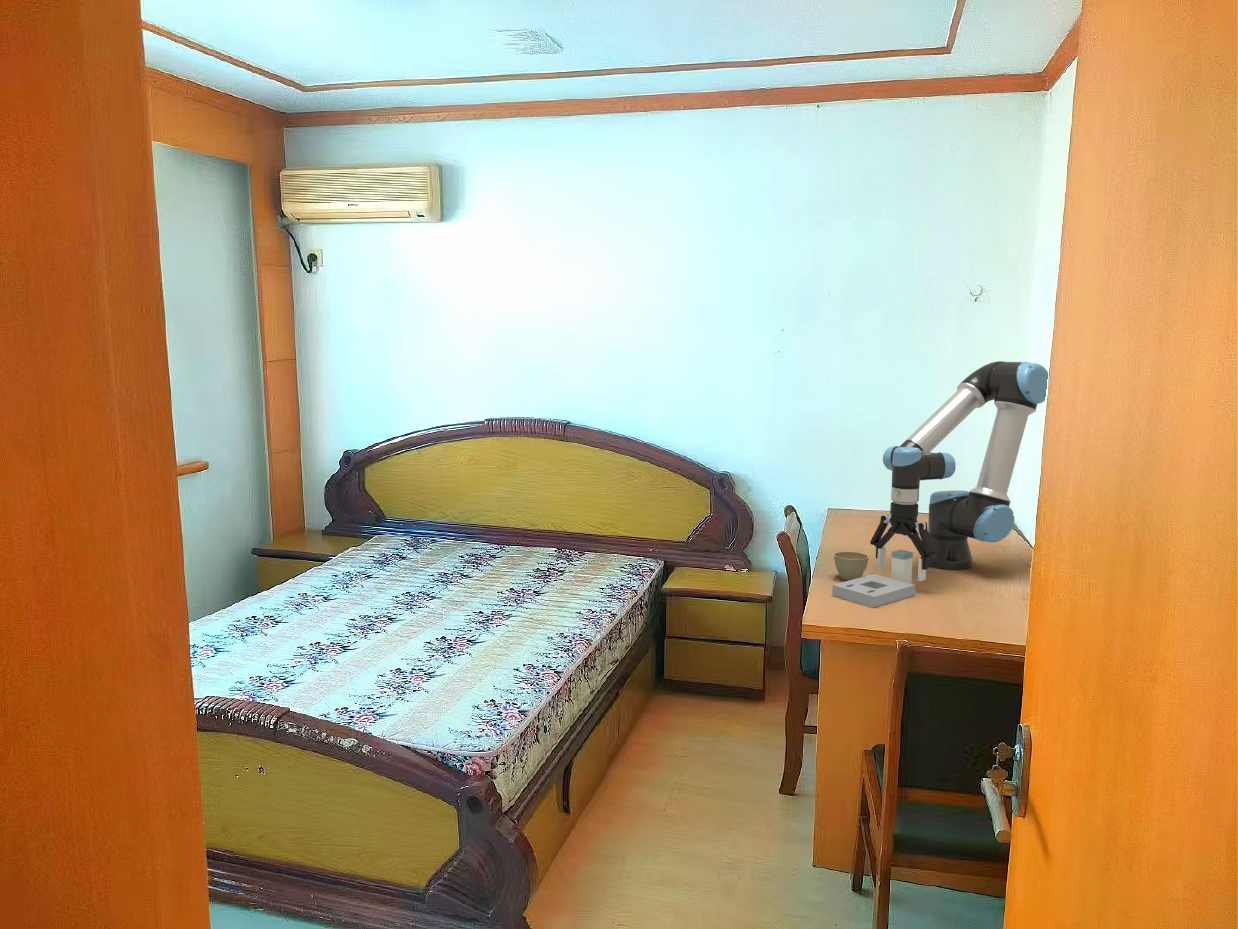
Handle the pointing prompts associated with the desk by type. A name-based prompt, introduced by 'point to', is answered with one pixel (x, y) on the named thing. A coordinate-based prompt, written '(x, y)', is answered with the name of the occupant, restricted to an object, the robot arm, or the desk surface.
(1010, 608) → the desk surface
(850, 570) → the flower pot
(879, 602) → the outlet plate
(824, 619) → the desk surface
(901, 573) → the block
